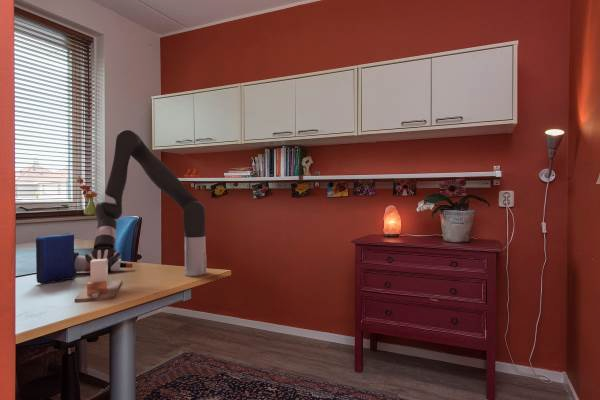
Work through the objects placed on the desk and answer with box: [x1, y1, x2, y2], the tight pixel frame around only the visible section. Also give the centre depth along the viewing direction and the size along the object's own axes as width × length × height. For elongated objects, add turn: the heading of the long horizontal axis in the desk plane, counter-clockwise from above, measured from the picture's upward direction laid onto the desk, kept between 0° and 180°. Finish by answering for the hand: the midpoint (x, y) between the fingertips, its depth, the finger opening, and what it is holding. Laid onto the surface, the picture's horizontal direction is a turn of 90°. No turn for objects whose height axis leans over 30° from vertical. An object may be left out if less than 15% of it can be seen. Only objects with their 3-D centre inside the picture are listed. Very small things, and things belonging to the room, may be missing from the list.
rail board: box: [74, 279, 123, 303], centre depth 142 cm, size 12×26×5 cm, turn 20°
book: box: [35, 232, 77, 285], centre depth 159 cm, size 14×5×20 cm, turn 150°
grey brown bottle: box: [74, 251, 133, 274], centre depth 177 cm, size 10×34×10 cm, turn 106°
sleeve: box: [89, 259, 109, 286], centre depth 140 cm, size 5×5×11 cm
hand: (100, 275), depth 143 cm, fingers closed
